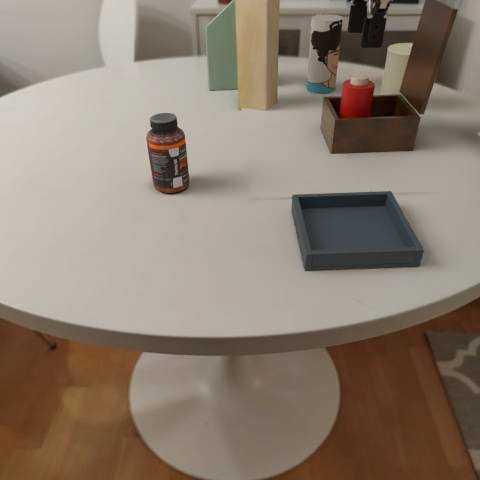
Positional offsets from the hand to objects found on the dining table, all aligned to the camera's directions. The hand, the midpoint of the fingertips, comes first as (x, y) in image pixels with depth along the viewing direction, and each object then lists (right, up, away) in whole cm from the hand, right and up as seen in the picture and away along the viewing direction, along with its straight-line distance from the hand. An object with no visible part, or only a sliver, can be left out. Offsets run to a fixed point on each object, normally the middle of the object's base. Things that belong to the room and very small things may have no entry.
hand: (363, 39), depth 74 cm
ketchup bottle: (+1, -13, +11) cm, 17 cm away
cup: (-1, +7, +35) cm, 36 cm away
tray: (-5, -33, -11) cm, 35 cm away
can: (+15, -1, +25) cm, 29 cm away
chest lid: (+10, -2, +2) cm, 11 cm away
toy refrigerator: (-16, 0, +27) cm, 32 cm away
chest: (+3, -13, +12) cm, 18 cm away
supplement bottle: (-31, -24, +1) cm, 39 cm away
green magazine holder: (-20, +10, +39) cm, 45 cm away
